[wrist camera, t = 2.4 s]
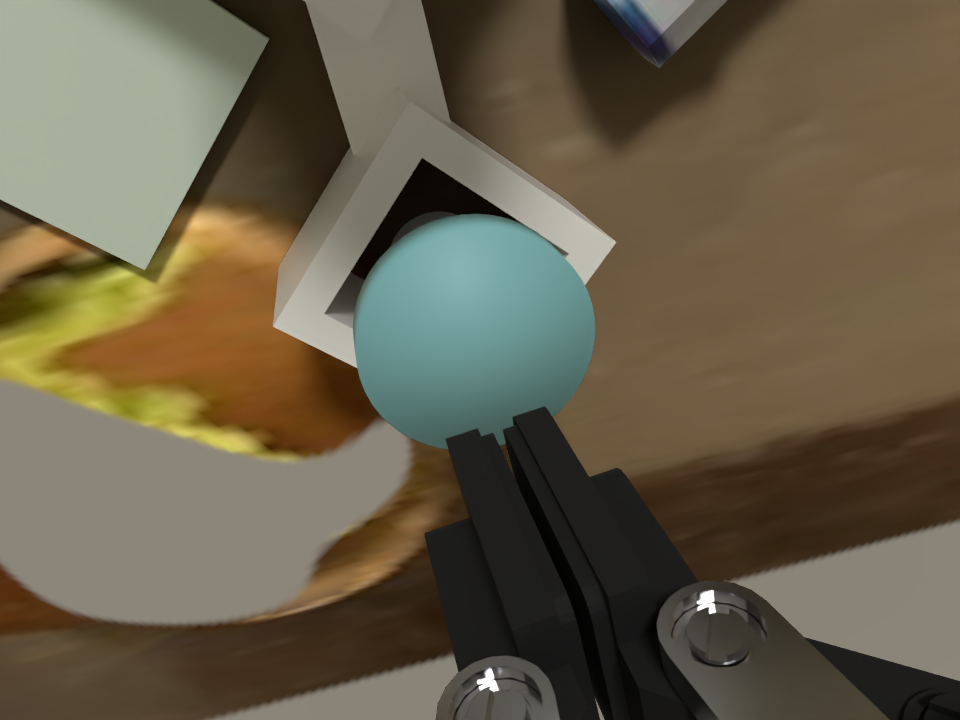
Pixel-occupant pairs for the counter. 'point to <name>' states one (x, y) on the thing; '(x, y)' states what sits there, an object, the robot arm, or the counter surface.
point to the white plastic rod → (658, 23)
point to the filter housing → (397, 167)
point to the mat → (115, 110)
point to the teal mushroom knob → (470, 327)
